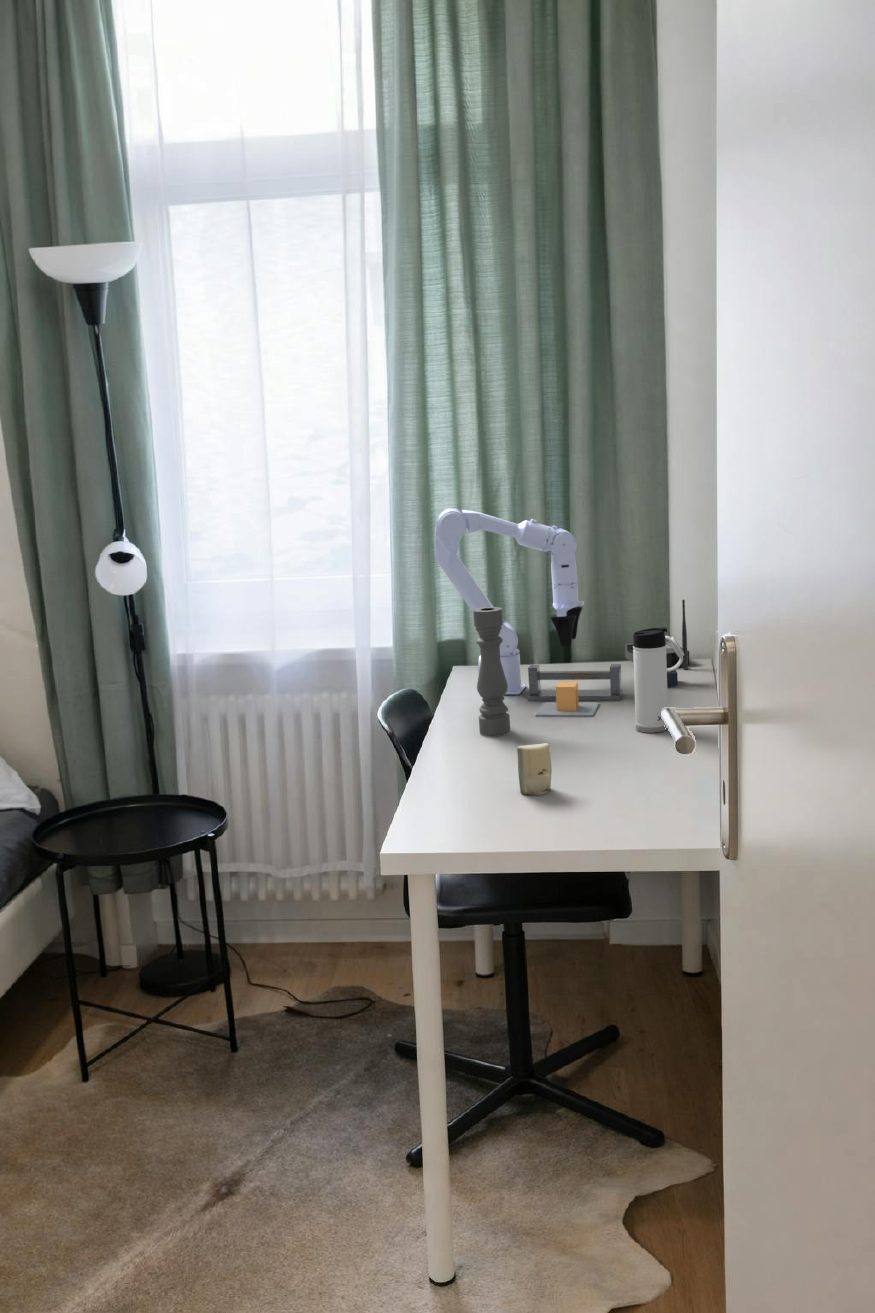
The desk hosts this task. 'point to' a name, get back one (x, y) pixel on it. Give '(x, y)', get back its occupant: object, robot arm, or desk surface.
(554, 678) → the rail stand
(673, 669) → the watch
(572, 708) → the clip
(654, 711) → the travel mug
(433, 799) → the desk surface
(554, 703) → the mat
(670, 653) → the wifi router
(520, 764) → the beige tall block
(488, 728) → the candle holder
